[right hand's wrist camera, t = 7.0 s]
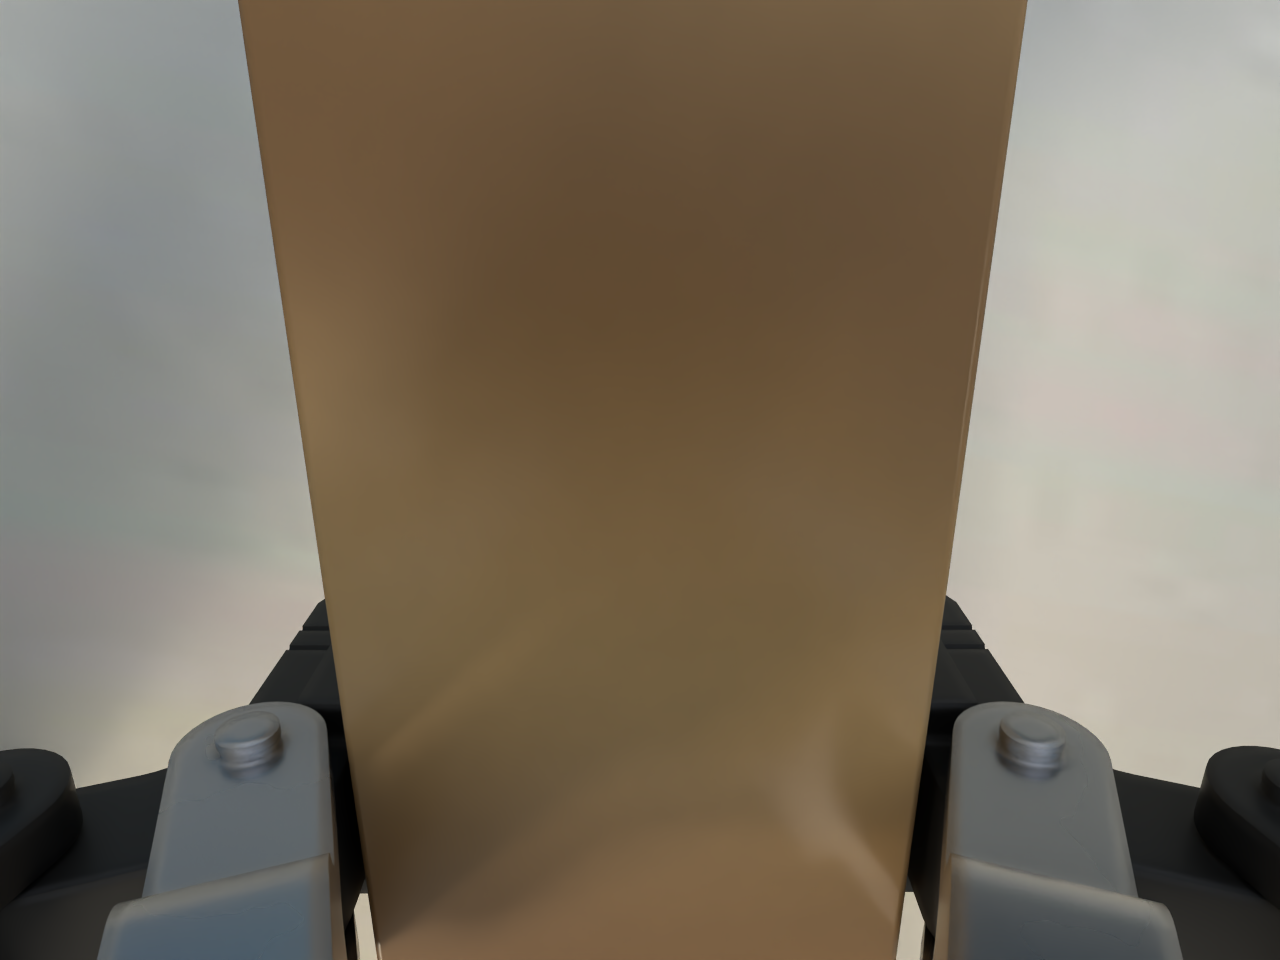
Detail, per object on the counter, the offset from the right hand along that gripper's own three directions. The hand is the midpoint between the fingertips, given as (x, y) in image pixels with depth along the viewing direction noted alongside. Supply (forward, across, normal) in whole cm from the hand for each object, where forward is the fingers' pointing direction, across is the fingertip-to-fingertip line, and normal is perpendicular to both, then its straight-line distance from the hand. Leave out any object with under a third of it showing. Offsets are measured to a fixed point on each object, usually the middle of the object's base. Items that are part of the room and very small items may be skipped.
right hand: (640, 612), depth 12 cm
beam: (+2, 0, -27) cm, 27 cm away
